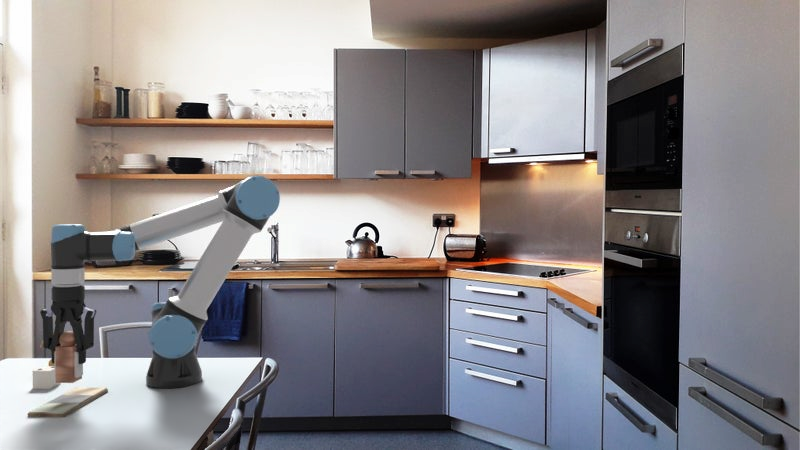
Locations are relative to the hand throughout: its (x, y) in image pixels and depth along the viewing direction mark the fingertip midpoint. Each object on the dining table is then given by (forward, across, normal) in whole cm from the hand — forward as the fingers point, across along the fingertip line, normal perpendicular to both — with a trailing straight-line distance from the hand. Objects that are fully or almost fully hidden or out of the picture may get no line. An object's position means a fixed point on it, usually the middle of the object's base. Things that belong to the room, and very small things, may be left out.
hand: (68, 375), depth 165 cm
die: (+7, +15, -16) cm, 23 cm away
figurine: (+7, +23, -34) cm, 42 cm away
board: (+7, 0, 0) cm, 7 cm away
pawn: (+1, 0, 0) cm, 1 cm away
